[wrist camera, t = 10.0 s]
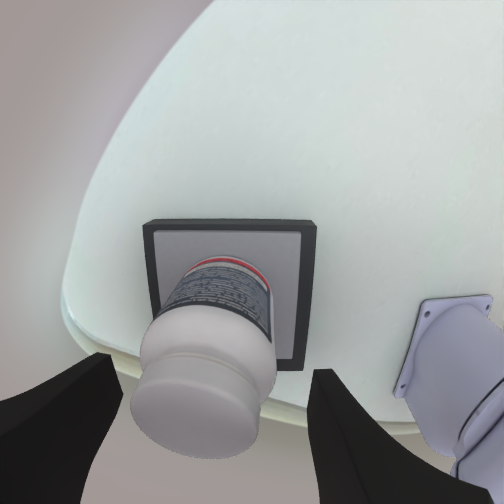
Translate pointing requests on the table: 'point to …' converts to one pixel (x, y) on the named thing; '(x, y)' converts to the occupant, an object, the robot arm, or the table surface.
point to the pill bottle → (208, 361)
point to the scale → (252, 251)
